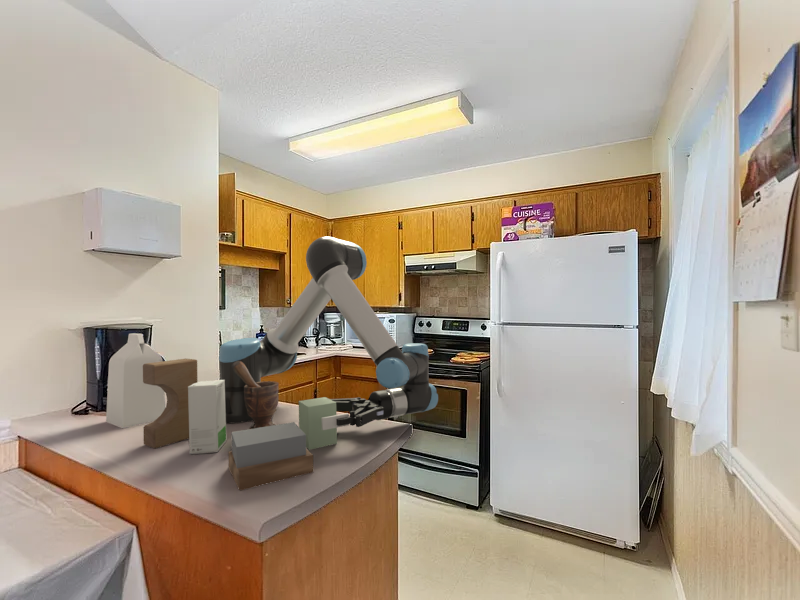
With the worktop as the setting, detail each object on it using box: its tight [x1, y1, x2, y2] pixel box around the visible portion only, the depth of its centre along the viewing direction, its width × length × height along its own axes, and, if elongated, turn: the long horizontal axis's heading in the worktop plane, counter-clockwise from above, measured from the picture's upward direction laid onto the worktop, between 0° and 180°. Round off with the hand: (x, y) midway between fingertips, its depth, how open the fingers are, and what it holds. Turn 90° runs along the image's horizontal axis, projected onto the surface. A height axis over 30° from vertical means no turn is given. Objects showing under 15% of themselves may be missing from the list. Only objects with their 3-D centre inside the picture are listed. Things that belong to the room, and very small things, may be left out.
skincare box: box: [188, 379, 227, 455], centre depth 95 cm, size 8×7×16 cm
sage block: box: [298, 396, 338, 451], centre depth 97 cm, size 7×7×10 cm
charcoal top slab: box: [230, 421, 307, 468], centre depth 81 cm, size 10×13×4 cm
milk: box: [105, 333, 166, 429], centre depth 120 cm, size 12×12×26 cm
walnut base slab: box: [227, 448, 314, 491], centre depth 81 cm, size 12×14×4 cm
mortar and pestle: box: [232, 361, 279, 429], centre depth 103 cm, size 12×9×20 cm
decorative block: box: [142, 358, 199, 449], centre depth 101 cm, size 11×6×20 cm, turn 145°
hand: (311, 417), depth 96 cm, fingers open, 13 cm apart
